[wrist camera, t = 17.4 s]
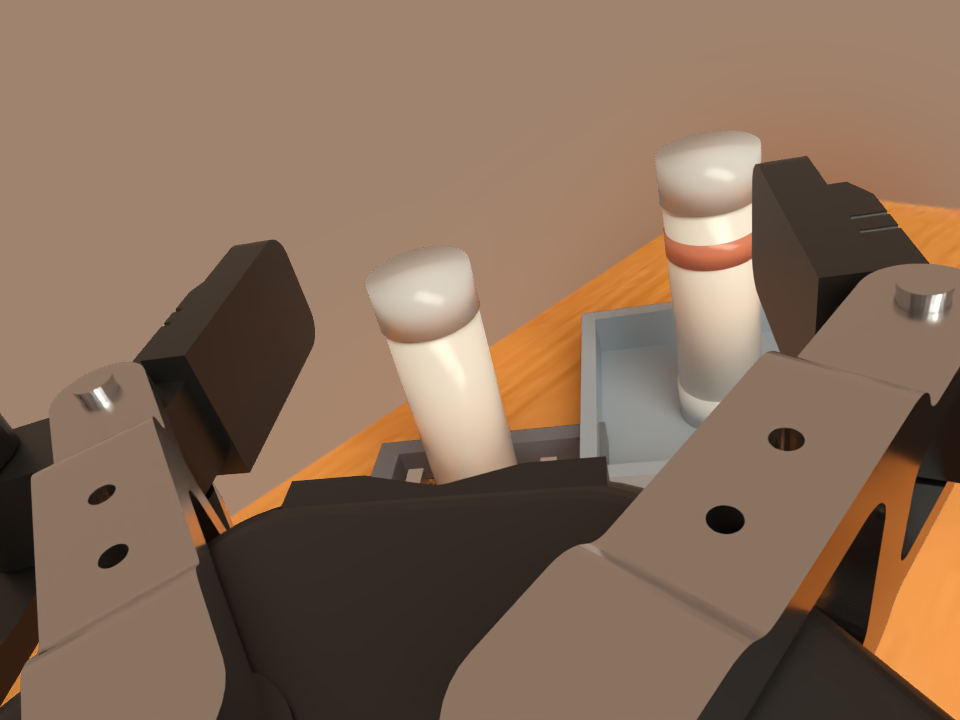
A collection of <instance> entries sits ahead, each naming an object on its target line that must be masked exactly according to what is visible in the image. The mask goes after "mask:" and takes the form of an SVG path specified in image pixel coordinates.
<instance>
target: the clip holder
mask: <svg viewBox="0 0 960 720" xmlns="http://www.w3.org/2000/svg"><path fill="white" fill-rule="evenodd" d="M508 427H509V426H508ZM509 431H510V427H509ZM510 435H511V439H512V443H513V447H514V451H515V455H516V459H517V463H518V464H521V463H527V462H539V461H552V460H564V459H577V458H580V424H576V425H566V426H555V427H545V428H535V429H525V430H514V431H510ZM599 442H600V457H602V456H606V459H607V465H609V441H608V435H607V430H606V424H605V422H599ZM371 477H378V478H385V479H393V480H400V481H408V482H415V483H422V484H430V483H429V481H428V479H433V478H434V476H433V473H432V470H431V467H430V464H429V461H428V459H427V456H426V453H425V450H424V447H423V444H422V441H421V440H412V441H402V442H391V443H382V446H381V449H380V452H379V455H378V457H377V460H376V463H375V466H374V469H373V472H372V475H371Z"/></svg>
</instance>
